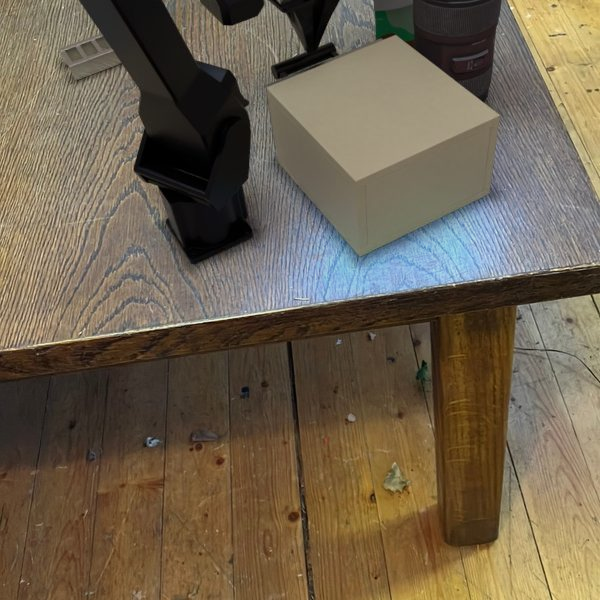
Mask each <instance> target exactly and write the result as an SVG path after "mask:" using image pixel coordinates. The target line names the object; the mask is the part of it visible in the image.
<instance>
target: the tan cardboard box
mask: <svg viewBox="0 0 600 600" xmlns="http://www.w3.org/2000/svg"><path fill="white" fill-rule="evenodd" d="M266 90H267V95H268V101H267V103H268V102H269V107H268V110H269V109H270V113H269V116H270V115H271V120H270V122H271V121H272V126H271V128H272V127H273V132H272V134H273V133H274V138H273V141H274V140H275V144H274V146H275V151H276V156H277V163H278V165H280V167H281V168H282V169H283V170H284V171H285V173H286V174H288V176H289V177H290V178H291V180H293V182H294V183H295V184H296V185H297V186H298V187H299V189H300V190H301V191H302V192H303V193H304V194H305V196H306V197H307V198H308V199H309V200H310V202H312V204H313V205H314V206H315V207H316V209H318V211H320V212H321V214H322V216H324V217H325V219H326V220H327V221H328V222H329V223H330V225H332V227H333V228H334V229H335V231H337V232H338V234H339V235H340V236H341V237H342V239H344V241H345V242H346V243H347V244H348V245H349V247H351V249H352V250H353V251H354V252H355V254H357V256H358V257H359V258H361V257H363V256H365V255H367V254H369V253H371V252H373V251H376V250H377V249H380V248H381V247H384V246H385V245H388V244H390V243H391V242H394V241H396V240H398V239H400V238H402V237H404V236H406V235H408V234H411V233H412V232H414V231H417V230H419V229H420V228H422V227H424V226H427V225H429V224H431V223H432V222H435V221H437V220H439V219H440V218H443V217H445V216H448V215H449V214H451V213H453V212H455V211H458V210H460V209H462V208H464V207H466V206H468V205H470V204H472V203H474V202H476V201H478V200H480V199H482V198H484V197H486V196H488V195H490V192H491V185H492V178H493V169H494V162H495V155H496V148H497V142H498V141H497V140H498V134H499V125H500V119H501V117H500V116H501V115H500V114H499V113H498V112H496V111H495V110H494V109H493V108H491V107H490V106H489V105H487V104H486V103H485V102H484V103H483V102H482V101H481V100H479V99H478V98H477V97H476V96H474V95H473V94H472V93H470V92H469V91H468V90H467V89H465V88H464V87H463V86H461V85H460V84H459V83H457V82H456V81H455V80H454V79H452V78H451V77H450V76H448V75H447V74H446V73H444V72H443V71H442V70H441V69H439V68H438V67H437V66H435V65H434V64H433V63H432V62H430V61H429V60H428V59H426V58H425V57H424V56H422V55H421V54H420V53H419V52H417V51H416V50H415V49H413V48H412V47H411V46H409V45H408V44H407V43H406V42H404V41H403V40H402V39H400V38H399V37H398V36H397V35H394V36H392V37H389V38H387V39H384V40H382V41H379V42H377V43H375V44H372V45H370V46H367V47H365V48H362V49H360V50H357V51H355V52H352V53H350V54H348V55H345V56H343V57H340V58H338V59H335V60H333V61H330V62H328V63H325V64H323V65H321V66H318V67H316V68H313V69H311V70H308V71H306V72H303V73H301V74H298V75H296V76H294V77H291V78H289V79H286V80H284V81H281V82H279V83H276V84H274V85H271V86H269V87H267V88H266V89H265V91H266ZM267 95H266V96H267Z"/></svg>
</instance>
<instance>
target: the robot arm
mask: <svg viewBox="0 0 600 600" xmlns="http://www.w3.org/2000/svg"><path fill="white" fill-rule="evenodd" d="M78 1H79V3H80V4H81V6H82V8H83V9H84V10H85V11H86V12H85V13H87V15H88V16H89V18H90V19H91V20H92V22H93V24H94V25H95V26H96V28H97V29H98V31H99V32H100V33H101V34H102V35H103V37H104V38H105V40H106V41H107V42H108V44H109V45H110V47H111V48H112V50H113V51H114V53H115V54H116V56H117V57H118V59H119V60H120V62H121V64H122V66H123V67H124V69H125V71H126V72H127V73H128V75H129V76H130V78H131V79H132V81H133V82H134V83H135V85H136V87H137V88H138V90H139V101H138V108H137V113H138V114H137V115H138V117H139V120H140V121H141V123H142V125H143V127H144V128H143V132H142V135H141V139H140V143H139V146H138V149H137V153H136V157H135V160H134V165H133V172H134V173H135V175H136V176H137V177H138V178H139V179H140V180H141V181H142V182H143V183H145V184H151V185H154V186H156V187H157V188H158V192H159V195H160V198H161V201H162V204H163V207H164V209H165V212H166V215H167V218H166V220H165V225H166V227H167V228H168V230H169V231H170V233H171V235H172V237H173V238H174V240H175V241H176V242H177V244H178V245H179V248H180V249H181V250H182V252H183V254H184V255H185V257H186V259H187V260H188V262H189V263H191V264H197V263H199V262H201V261H203V260H206V259H207V258H209V257H212V256H214V255H216V254H218V253H220V252H223V251H225V250H227V249H229V248H232V247H234V246H236V245H237V244H240V243H243V242H244V241H247V240H248V239H251V238H252V237H253V236H254V230H253V229H252V227H251V225H250V224H249V223H248V222H247V219H249V216H250V213H249V209H248V204H247V200H246V195H245V191H244V186H243V185H244V184H245V183H246V182H247V181H248V180H249V178H250V162H251V161H250V159H251V146H252V145H251V142H252V130H251V129H252V128H251V119H250V116H249V113H248V110H247V108H246V107H248V106H249V105H250V100H248V99H247V98H245V97H244V96H243V94H242V92H241V90H240V87H239V83H238V80H237V77H236V76H235V74H234V73H233V72H232V71H231V70H230V69H228V68H224V67H221V66H217V65H214V64H210V63H208V62H204V61H200V60H196V59H195V57H194V55H193V54H192V52H191V50H190V48H189V46H188V44H187V43H186V41H185V39H184V37H183V35H182V34H181V32H180V30H179V28H178V27H177V24H176V22H175V21H174V19H173V17H172V15H171V13H170V12H169V10H168V8H167V6H166V5H165V2H164V1H163V0H78ZM340 1H341V0H268V2H270V3H271V4H272V5H273V6H274V7H275V8H276V9H277V10H279V11H280V12H282V13H283V14H285V15H286V17H287V18H288V20H289V22H290V24H291V26H292V28H293V30H294V31H295V34H296V36H297V38H298V40H299V42H300V44H301V46H302V48H303V49H304V52H307V53H308V54H311V53H314V52H316V51H317V49H318V47H319V46H320V44H321V41H322V39H323V37H324V35H325V32H326V31H327V28H328V25H329V23H330V20H331V18H332V16H333V14H334V12H335V10H336V8H337V7H338V5H339V3H340ZM199 2H200V4H202V6H204V8H205V9H206V10H207V11H208V12H209V13H210V14H211V15H212V16H213V17H214V18H215V19H216V20H217V21H218V22H219V23H220V24H222V26H229V27H231V26H236V25H238V24H240V23H243V22H247V21H248V20H251V19H253V18H257V17H259V15H260V13H261V12H262V9H263V8H264V6H265V0H199Z"/></svg>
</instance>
